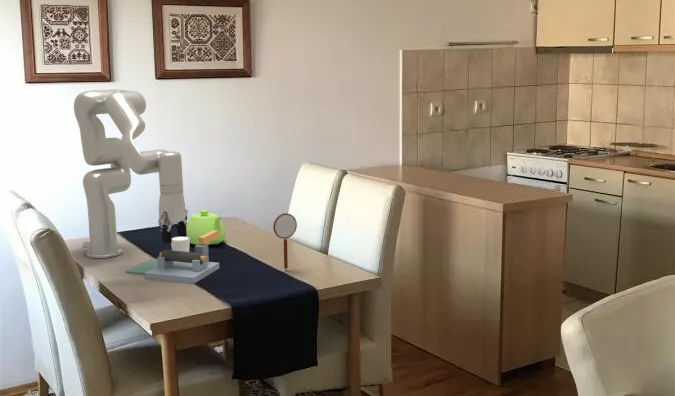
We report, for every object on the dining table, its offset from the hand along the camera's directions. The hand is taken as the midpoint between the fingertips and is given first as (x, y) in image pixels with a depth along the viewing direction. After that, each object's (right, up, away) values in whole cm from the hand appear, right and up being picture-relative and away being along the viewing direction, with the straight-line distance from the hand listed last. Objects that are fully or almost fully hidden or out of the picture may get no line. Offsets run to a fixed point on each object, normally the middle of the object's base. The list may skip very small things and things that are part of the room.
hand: (174, 239), depth 248 cm
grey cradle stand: (+2, -11, +2) cm, 12 cm away
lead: (+2, -8, +1) cm, 8 cm away
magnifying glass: (+37, -11, +4) cm, 39 cm away
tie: (+9, -1, +11) cm, 14 cm away
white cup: (-3, -8, +22) cm, 23 cm away
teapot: (+4, -4, +41) cm, 41 cm away
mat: (-11, -10, +9) cm, 17 cm away
